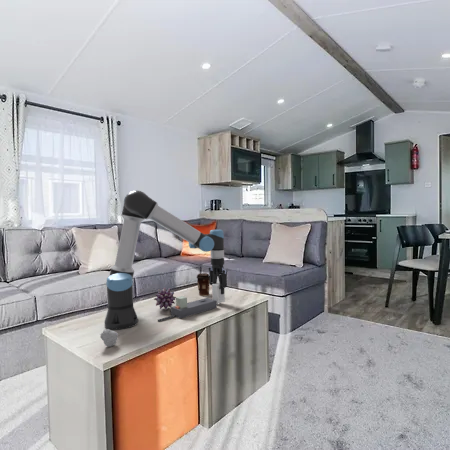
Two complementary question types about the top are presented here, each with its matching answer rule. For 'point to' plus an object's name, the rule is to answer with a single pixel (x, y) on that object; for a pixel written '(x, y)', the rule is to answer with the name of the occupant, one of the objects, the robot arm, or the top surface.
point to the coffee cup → (203, 284)
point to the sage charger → (181, 302)
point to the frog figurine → (109, 337)
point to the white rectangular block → (217, 293)
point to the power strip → (192, 308)
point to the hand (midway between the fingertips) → (218, 298)
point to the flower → (165, 298)
